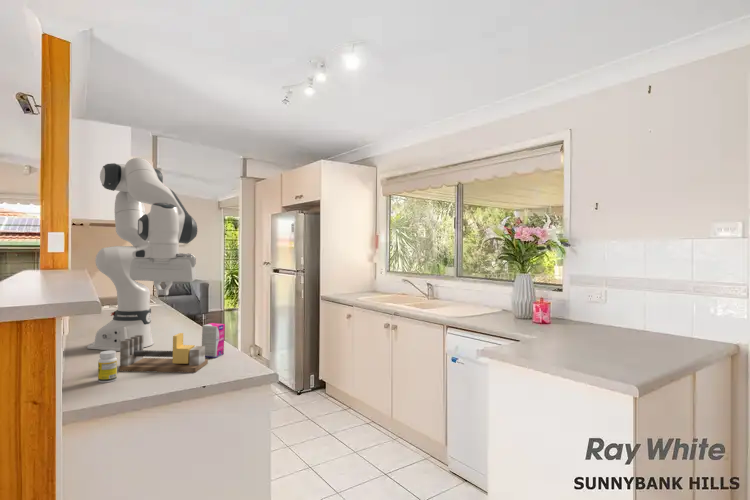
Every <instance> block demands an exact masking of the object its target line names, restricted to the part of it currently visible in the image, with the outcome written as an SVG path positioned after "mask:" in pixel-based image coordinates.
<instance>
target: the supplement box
mask: <svg viewBox="0 0 750 500" xmlns="http://www.w3.org/2000/svg"><path fill="white" fill-rule="evenodd" d="M225 328H226V324H225V323H219V322H218V323H216V322H210V323H207V324H204V325H202V328H201V329H202V332H201V346H205V359H208V358H209V359H216V358H219V357H220V356H221V357H222V356H223V355H224V354H225V352H224V351H225V333H226V331H225Z"/></svg>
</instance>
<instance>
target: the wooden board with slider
mask: <svg viewBox="0 0 750 500" xmlns="http://www.w3.org/2000/svg"><path fill="white" fill-rule="evenodd" d="M208 364H209V360H208V358H206V357H205V346H202V345H195V347H194V348H192V349H190V359H189V363H188V364H179V363H173V350H152V349H151V350H148V349H147V350H144V347H143V335H135V337H131V339H125V340H122V341H120V351H119V366H118V372H140V371H141V372H142V371H143V373H145V372H146V371H157V372H156V373H197V372H198V371H200V370H201V369H203V368H204V367H205V366H207V365H208ZM144 371H145V372H144ZM146 373H147V372H146Z"/></svg>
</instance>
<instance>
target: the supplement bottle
mask: <svg viewBox="0 0 750 500" xmlns="http://www.w3.org/2000/svg"><path fill="white" fill-rule="evenodd" d="M116 353H117V351H113V350H102V351H100V353H99V359H98V365H97V367H98V368H97V382H98V383H101V384H105V383H106V384H107V383H113V382H115V381H117V380H118V358H117V357H116V356H117V354H116Z"/></svg>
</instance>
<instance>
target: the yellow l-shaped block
mask: <svg viewBox="0 0 750 500" xmlns="http://www.w3.org/2000/svg"><path fill="white" fill-rule="evenodd" d="M195 346H196V345H193V344H191V345H190V344H184V332H179V333H177V334H174V335H172V351H173V357H172V359H173V363H179V364H188V363H189V359H190V349H192V348H194V347H195Z"/></svg>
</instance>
